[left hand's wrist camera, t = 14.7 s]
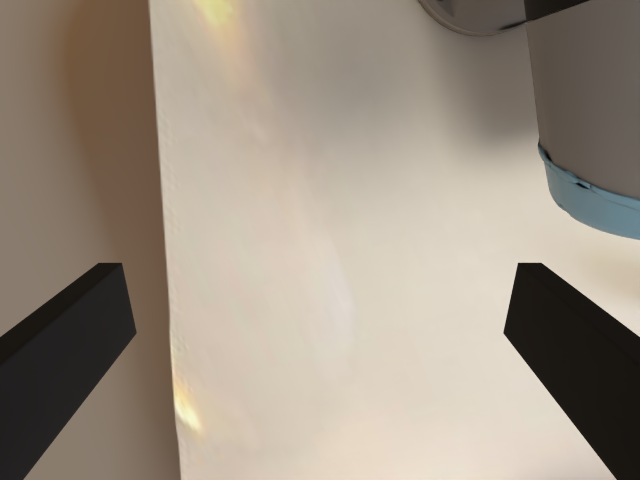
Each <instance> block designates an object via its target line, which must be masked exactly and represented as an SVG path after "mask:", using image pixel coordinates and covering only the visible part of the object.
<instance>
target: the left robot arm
mask: <svg viewBox="0 0 640 480" xmlns="http://www.w3.org/2000/svg"><path fill="white" fill-rule="evenodd" d="M419 2H420V3H421V4H422V6H423V7H424V9H425V10H426V11H427V12H428V13H429V14H430V15H431V16H432V17H433V18H434V19H435V20H436V21H437V22H439V23H440V24H442V25H443V26H445V27H447V28H448V29H451V30H453V31H455V32H458V33H461V34H466V35H471V36H488V35H494V34H499V33H503V32H506V31H509V30H512V29H514V28H517V27H519V26H521V25H523V24H525V23H526V28H527V36H528V44H529V51H530V59H531V67H532V75H533V84H534V93H535V102H536V110H537V119H538V128H539V142H538V151H539V154H540V156H541V158H542V160H543V161H544V164H545V169H546V175H547V180H548V186H549V190H550V193H551V196H552V198H553V199H554V201H555V202H556V204H557V205H558V206H559V207H560V208H562V209H563V210H565V211H566V212H567V213H569V214H570V216H571V217H573V218H574V219H576V220H577V221H579V222H581V223H583V224H586V225H588V226H590V227H592V228H595V229H598V230H601V231H604V232H607V233H610V234H614V235H618V236H622V237H627V238H632V239H637V240H640V0H586V1H585V0H419ZM577 3H578V4H577ZM574 4H575V5H574ZM569 6H570V7H569ZM566 7H567V8H566ZM563 8H564V9H563ZM558 10H559V11H558ZM555 11H556V12H555ZM552 12H553V13H552ZM550 13H551V14H550ZM547 14H548V15H547ZM544 15H545V16H544ZM542 16H543V17H542ZM539 17H540V18H539ZM531 20H532V21H531ZM524 26H525V25H524ZM521 27H522V26H521ZM135 334H136V328H135V323H134V318H133V314H132V309H131V304H130V300H129V295H128V290H127V285H126V280H125V276H124V271H123V266H122V263H98V264H97V265H95V266H94V267H93V268H91V269H90V270H89V271H87V272H86V273H85V274H83V275H82V276H81V277H79V278H78V279H77V280H75V281H74V282H73V283H71V284H70V285H69V286H67V287H66V288H65V289H64V290H62V291H61V292H59V293H58V294H57V295H56V296H54V297H53V298H52V299H50V300H49V301H48V302H46V303H45V304H44V305H42V306H41V307H40V308H38V309H37V310H36V311H34V312H33V313H32V314H30V315H29V316H28V317H26V318H25V319H24V320H22V321H21V322H20V323H18V324H17V325H16V326H15V327H13V328H12V329H11V330H9V331H8V332H7V333H5V334H4V335H2V336H1V337H0V480H23V479H24V478H25V477H26V475H27V474H28V473H29V472H30V470H31V469H32V468H33V466H34V465H35V464H36V462H37V461H38V460H39V459H40V457H41V456H42V455H43V453H44V452H45V451H46V449H47V448H48V447H49V446H50V444H51V443H52V442H53V441H54V439H55V438H56V437H57V435H58V434H59V433H60V431H61V430H62V429H63V427H64V426H65V425H66V424H67V422H68V421H69V420H70V419H71V417H72V416H73V415H74V413H75V412H76V411H77V409H78V408H79V407H80V406H81V404H82V403H83V402H84V400H85V399H86V398H87V397H88V395H89V394H90V393H91V391H92V390H93V389H94V387H95V386H96V385H97V384H98V382H99V381H100V380H101V378H102V377H103V376H104V375H105V373H106V372H107V371H108V369H109V368H110V367H111V365H112V364H113V363H114V362H115V360H116V359H117V358H118V356H119V355H120V354H121V353H122V351H123V350H124V349H125V347H126V346H127V345H128V344H129V342H130V341H131V340H132V338H133V337H134V336H135ZM504 334H505V336H506V337H507V338H508V340H509V341H510V342H511V344H512V345H513V346H514V347H515V349H516V350H517V351H518V353H519V354H520V355H521V356H522V358H523V359H524V360H525V362H526V363H527V364H528V366H529V367H530V368H531V369H532V371H533V372H534V373H535V375H536V376H537V377H538V378H539V380H540V381H541V382H542V384H543V385H544V386H545V387H546V389H547V390H548V391H549V393H550V394H551V395H552V397H553V398H554V399H555V400H556V402H557V403H558V404H559V406H560V407H561V408H562V409H563V411H564V412H565V413H566V415H567V416H568V417H569V419H570V420H571V421H572V422H573V424H574V425H575V426H576V428H577V429H578V430H579V431H580V433H581V434H582V435H583V437H584V438H585V439H586V441H587V442H588V443H589V444H590V446H591V447H592V448H593V450H594V451H595V452H596V453H597V455H598V456H599V457H600V459H601V460H602V461H603V462H604V464H605V465H606V466H607V468H608V469H609V470H610V472H611V473H612V474H613V475H614V477H615V478H616V479H617V480H640V337H639V336H638V335H636V334H635V333H634V332H632V331H631V330H630V329H628V328H627V327H626V326H624V325H623V324H622V323H620V322H619V321H618V320H616V319H615V318H614V317H612V316H611V315H610V314H608V313H607V312H606V311H604V310H603V309H602V308H600V307H599V306H598V305H596V304H595V303H594V302H592V301H591V300H590V299H588V298H587V297H586V296H584V295H583V294H582V293H581V292H579V291H578V290H577V289H575V288H574V287H573V286H571V285H570V284H569V283H567V282H566V281H565V280H563V279H562V278H561V277H559V276H558V275H557V274H555V273H554V272H553V271H551V270H550V269H549V268H547V267H546V266H545V265H543V264H542V263H518V266H517V271H516V276H515V280H514V285H513V290H512V295H511V299H510V304H509V309H508V314H507V318H506V323H505V328H504Z"/></svg>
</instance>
